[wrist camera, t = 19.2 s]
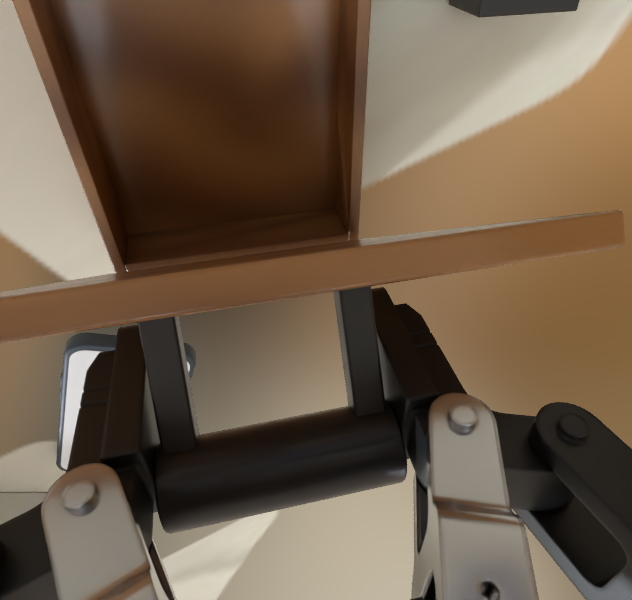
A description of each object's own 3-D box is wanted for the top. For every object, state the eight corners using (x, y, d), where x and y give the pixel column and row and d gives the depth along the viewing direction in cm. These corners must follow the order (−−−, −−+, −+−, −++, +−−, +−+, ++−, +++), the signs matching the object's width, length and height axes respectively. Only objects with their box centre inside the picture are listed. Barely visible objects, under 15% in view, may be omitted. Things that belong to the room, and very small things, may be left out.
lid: (-230, 329, 7) (-136, 665, 7) (625, 208, 9) (640, 477, 9) (113, 273, 25) (132, 368, 26) (359, 239, 27) (370, 328, 28)
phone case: (163, 457, 44) (200, 339, 35) (163, 473, 43) (200, 355, 34) (57, 456, 41) (66, 325, 31) (53, 473, 39) (62, 343, 30)
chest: (-32, -204, 16) (-73, -222, 14) (353, -201, 18) (383, -215, 16) (121, 238, 28) (115, 275, 26) (342, 210, 30) (358, 241, 28)
